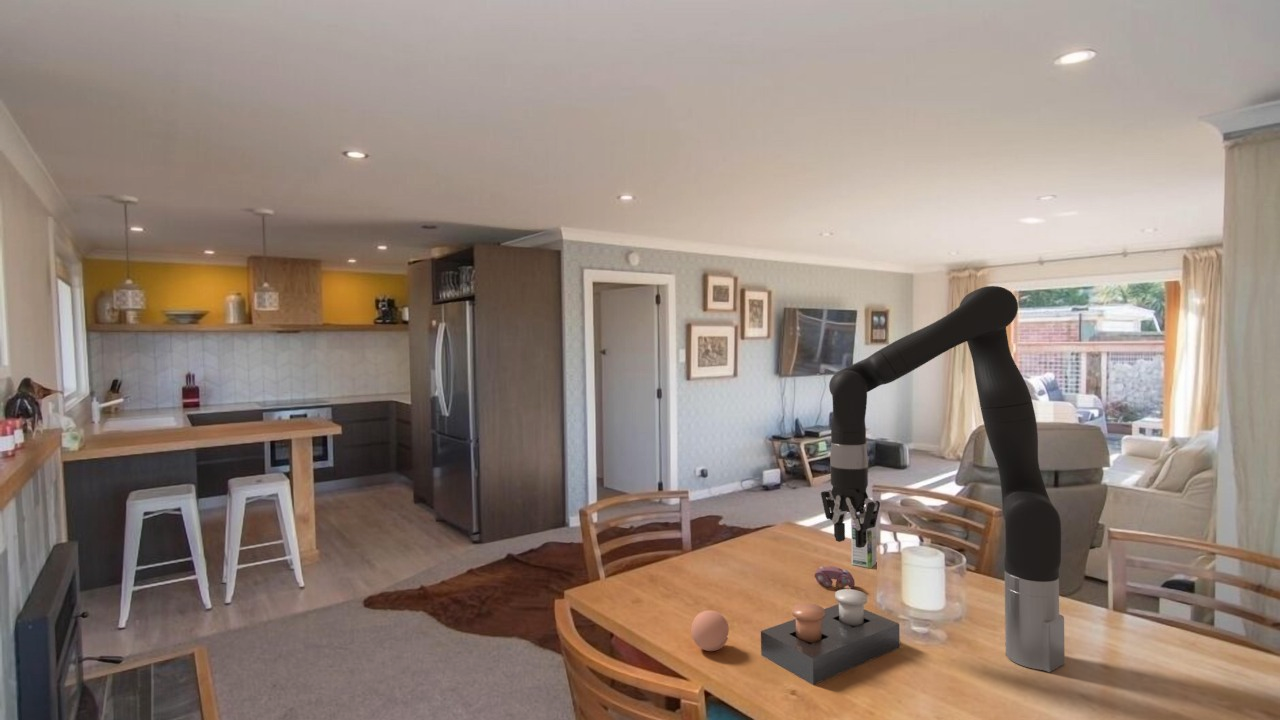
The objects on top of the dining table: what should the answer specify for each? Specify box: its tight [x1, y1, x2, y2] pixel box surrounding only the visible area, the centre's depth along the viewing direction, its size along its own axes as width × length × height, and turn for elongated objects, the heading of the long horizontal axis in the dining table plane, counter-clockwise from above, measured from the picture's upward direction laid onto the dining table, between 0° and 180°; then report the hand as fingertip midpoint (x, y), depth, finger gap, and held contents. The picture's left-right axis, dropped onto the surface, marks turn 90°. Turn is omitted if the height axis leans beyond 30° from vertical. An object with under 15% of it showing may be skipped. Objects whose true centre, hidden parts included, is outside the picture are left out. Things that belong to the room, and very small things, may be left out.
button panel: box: [760, 603, 901, 686], centre depth 130 cm, size 14×26×5 cm, turn 122°
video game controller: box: [814, 565, 856, 590], centre depth 165 cm, size 10×5×7 cm, turn 62°
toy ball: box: [690, 609, 730, 652], centre depth 132 cm, size 8×8×8 cm
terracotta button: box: [791, 602, 825, 643], centre depth 127 cm, size 6×6×6 cm
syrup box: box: [850, 512, 878, 569], centre depth 182 cm, size 6×6×14 cm
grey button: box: [834, 588, 868, 626], centre depth 134 cm, size 6×6×6 cm
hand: (850, 543), depth 134 cm, fingers open, 4 cm apart
